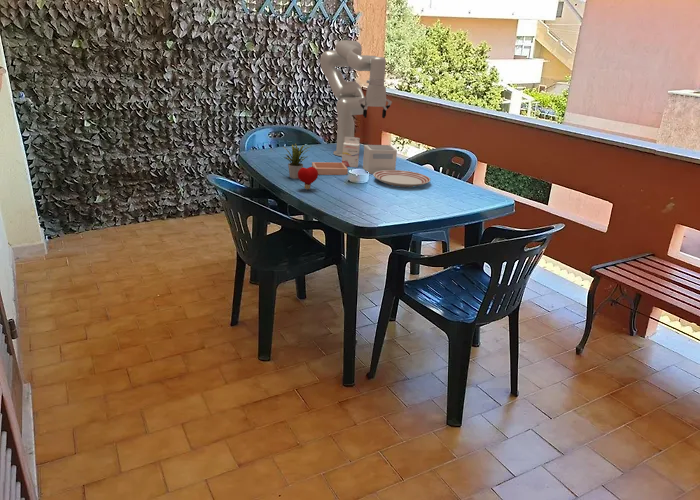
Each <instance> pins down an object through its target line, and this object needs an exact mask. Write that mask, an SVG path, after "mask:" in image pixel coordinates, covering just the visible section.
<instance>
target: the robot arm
mask: <svg viewBox="0 0 700 500" xmlns="http://www.w3.org/2000/svg"><path fill="white" fill-rule="evenodd" d="M334 49H335V50H333V49H332V50H325V51H324V52H322V54H321V55H320V60H319V61H320V62H319V63H320V68H321V70H322V73H323V75H324V76H325V78H326V79H327V81H328V83H329V87H330V89H331V91H332V93H333V96H334V97H335V98H336V99H338V100H337V102H336V112H337V130H336V133H337V134H336V149H335V150H333V155H335V156H337V157H342V152H343V144H344V139H345V137H355V126H356V125H355V124H356V123H355V120H354V119H353V116H357V115H358V116H360V115H363V118H367V114H368V108H369V107H374V108H375V107H376V108H377V107H379V108H380V107H382V114H381V115H382V116H381V117H382V119H386V116H387V110H388V109H389V108H390V107H391V105H392V104H393V101H392V100H390V99H389V98H387V87H386V86H385V75H386V66H387V65H386V64H387V63H386V62H387V61H386V58H385V57H382V56H378V55H369V54H368V55H366V54H365V55H363V54H362V53H363V52H362V50H363V47H362V44H361V43H360V42H359V41H357V40H350V39H349V40H348V39H347V40H346V39H345V40H343V39H341V40H339V41H338V42H336V45H335V47H334ZM337 67H339V68H340V67H341V68H342V67H343V68H345V67H349V68H351V69H353V70H355V71H357V72H369V78H368V80H367V79H366V84H368V85H367V88H366V92H365V94H364V91H363V89H362V87H361V85H360V84H359V83H357V81H351V80H349V81H347V80H345V78H344V75H343V73H342V72H341V71H340V70H339V69H337ZM350 140H351V141H355V140H353V139H350Z"/></svg>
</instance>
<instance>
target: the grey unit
mask: <svg viewBox="0 0 700 500" xmlns="http://www.w3.org/2000/svg"><path fill="white" fill-rule="evenodd" d="M397 154H398V150H397V149H396V148H394V147H393V146H392V145H391V144H390V145H389V144H364V145H363V159H362V169H363V170H364V171H365V170H366V171H368V172H369V173H370V175H373V174H374V173H375V172H377V171H383V170H396V166H397V165H396V164H397ZM366 171H365V172H366Z"/></svg>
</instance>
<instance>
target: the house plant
mask: <svg viewBox="0 0 700 500" xmlns="http://www.w3.org/2000/svg"><path fill="white" fill-rule="evenodd" d="M294 143H295V144H291V153H292V154H291V153H290V151H289V150H288V149H287V148H286V147H285V146H281V147H282V148H284V149H285V150H286V152H287V153H288V154H289V155H288V154H286V153H285V156H286V157H283V158H284V159H286V160H287V161H288V162H289V163H288V164H287V166H288V173H289V178H291V179H294V180H295V179H297V180H299V178H298V171H299V170H300V169H301V168H303V167H304V164H303V163H302V162H304V161H305V159H306V158H309V155H307V156H304V154H306V152H308V151H311V150H307V149H309V148H310V146H307V147H305V144H303V145H302V146H301V147H298V145H297V143H296V142H294ZM304 147H305V148H304Z"/></svg>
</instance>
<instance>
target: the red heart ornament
mask: <svg viewBox="0 0 700 500" xmlns="http://www.w3.org/2000/svg"><path fill="white" fill-rule="evenodd" d="M298 178H299V179H298V180H299V181H301V183H304V189H305V190H306V191H308V190H311V185H312V184H313V183H314V182H315V181H316V180H317V179H318V178H319V175H318V171H317V169H316V168H314V167H312V166H310V167H309V166H308V167H304V166H303V168H301V169H300V170H299V171H298Z"/></svg>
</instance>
